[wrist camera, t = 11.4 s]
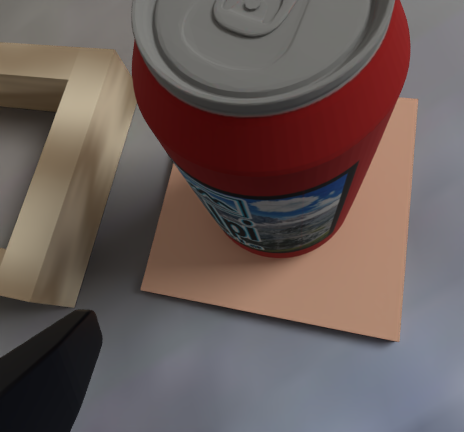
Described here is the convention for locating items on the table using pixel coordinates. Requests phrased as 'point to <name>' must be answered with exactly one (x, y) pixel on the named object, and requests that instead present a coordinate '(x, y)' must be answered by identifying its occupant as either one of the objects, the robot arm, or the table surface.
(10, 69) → the holder
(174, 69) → the beverage can
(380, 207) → the mat
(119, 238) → the table surface
